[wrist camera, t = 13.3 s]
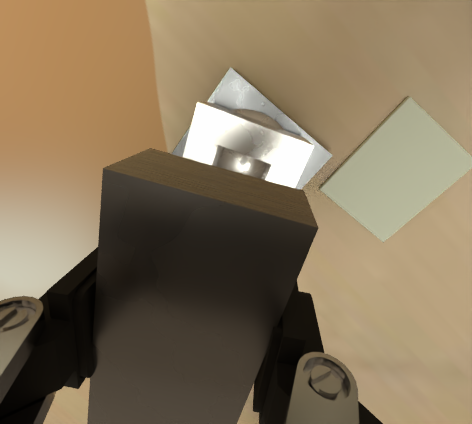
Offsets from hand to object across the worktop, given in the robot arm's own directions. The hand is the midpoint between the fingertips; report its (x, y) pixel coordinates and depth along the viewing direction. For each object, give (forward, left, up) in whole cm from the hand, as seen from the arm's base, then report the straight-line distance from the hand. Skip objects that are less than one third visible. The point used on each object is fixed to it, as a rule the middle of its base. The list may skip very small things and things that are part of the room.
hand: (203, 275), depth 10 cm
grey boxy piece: (0, 0, -20) cm, 20 cm away
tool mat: (-9, +13, -22) cm, 27 cm away
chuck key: (0, 0, -6) cm, 6 cm away
